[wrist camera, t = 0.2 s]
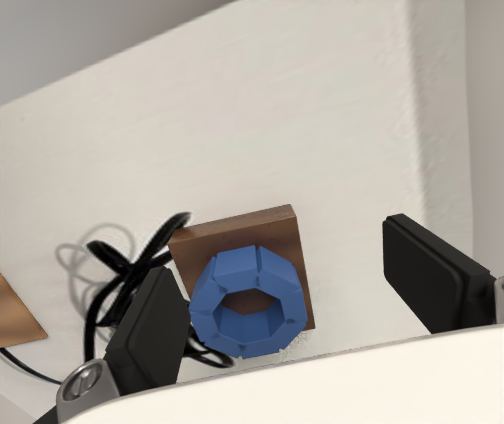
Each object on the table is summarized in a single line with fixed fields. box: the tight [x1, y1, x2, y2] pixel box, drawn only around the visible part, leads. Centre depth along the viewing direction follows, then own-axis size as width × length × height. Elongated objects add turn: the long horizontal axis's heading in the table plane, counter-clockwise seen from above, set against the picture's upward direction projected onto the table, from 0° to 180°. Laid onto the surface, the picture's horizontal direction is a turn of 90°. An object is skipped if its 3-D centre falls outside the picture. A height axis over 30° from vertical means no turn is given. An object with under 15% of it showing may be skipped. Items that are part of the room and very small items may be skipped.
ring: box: [189, 245, 308, 359], centre depth 23 cm, size 10×10×4 cm
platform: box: [167, 204, 315, 349], centre depth 26 cm, size 14×12×3 cm
